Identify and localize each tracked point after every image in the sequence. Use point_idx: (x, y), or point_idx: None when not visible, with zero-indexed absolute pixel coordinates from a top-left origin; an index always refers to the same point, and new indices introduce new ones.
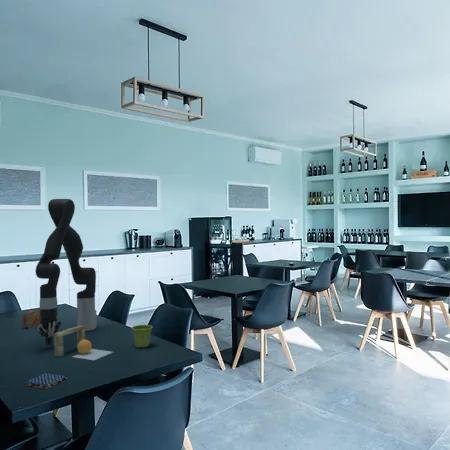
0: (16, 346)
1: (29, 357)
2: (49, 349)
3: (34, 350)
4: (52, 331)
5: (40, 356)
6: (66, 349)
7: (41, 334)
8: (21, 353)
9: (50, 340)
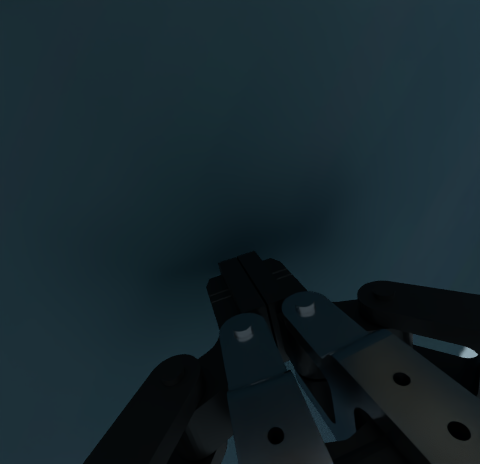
0: None
1: (475, 119)
2: (253, 216)
3: (340, 286)
4: (261, 381)
5: (427, 53)
6: (121, 35)
7: (430, 354)
8: (427, 279)
9: (256, 276)
